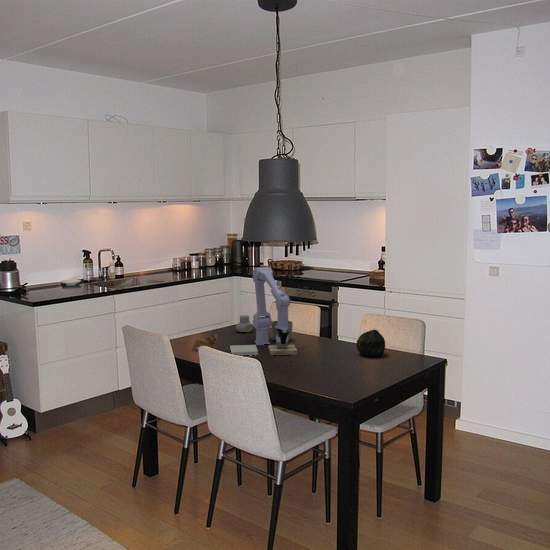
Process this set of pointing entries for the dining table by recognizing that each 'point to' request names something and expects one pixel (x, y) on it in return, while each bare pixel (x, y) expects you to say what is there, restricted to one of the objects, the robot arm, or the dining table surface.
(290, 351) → the stand
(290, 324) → the planter
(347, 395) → the dining table surface
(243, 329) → the air freshener
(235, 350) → the stand
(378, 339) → the squash
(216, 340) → the fried chicken drumstick
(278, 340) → the block
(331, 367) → the dining table surface
